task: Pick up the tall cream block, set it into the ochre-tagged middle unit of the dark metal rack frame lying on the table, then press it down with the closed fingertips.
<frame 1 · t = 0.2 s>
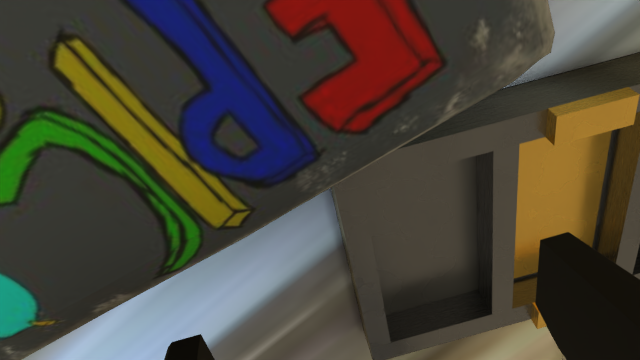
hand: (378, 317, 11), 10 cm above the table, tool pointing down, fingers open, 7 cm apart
toy van: (12, 8, 16), on the table
rack: (547, 193, 24), on the table
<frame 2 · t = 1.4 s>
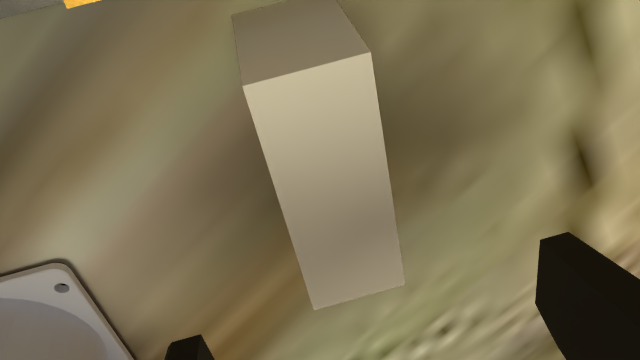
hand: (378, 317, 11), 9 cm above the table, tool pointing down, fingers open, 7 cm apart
tall cream block: (307, 114, 18), on the table
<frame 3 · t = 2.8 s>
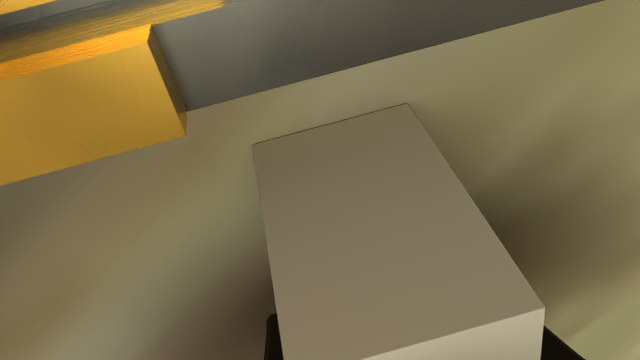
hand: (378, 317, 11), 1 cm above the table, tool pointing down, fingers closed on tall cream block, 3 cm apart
tall cream block: (361, 268, 12), on the table, touching gripper
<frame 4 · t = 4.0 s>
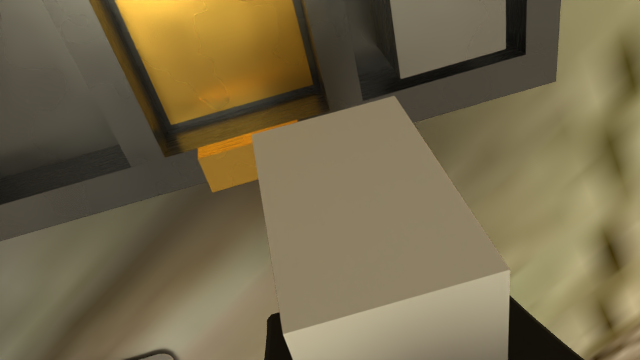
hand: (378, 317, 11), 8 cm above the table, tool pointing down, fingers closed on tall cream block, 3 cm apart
tall cream block: (354, 252, 13), point 6 cm above the table, touching gripper
when the fingers open (3 cm above the table, at t = 5.6 s): tall cream block stays where it is, resting on rack.
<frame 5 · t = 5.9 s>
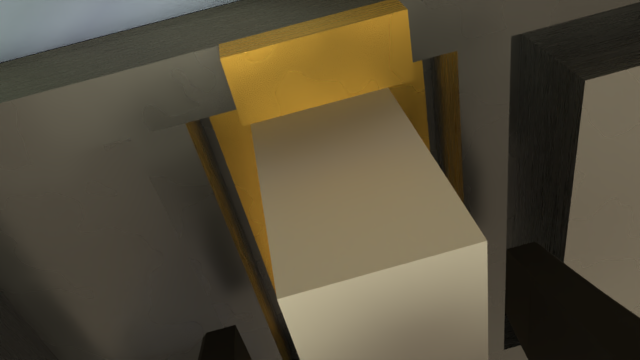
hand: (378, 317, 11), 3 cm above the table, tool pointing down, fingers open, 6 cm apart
tall cream block: (348, 236, 14), resting on rack
rack: (343, 215, 14), on the table
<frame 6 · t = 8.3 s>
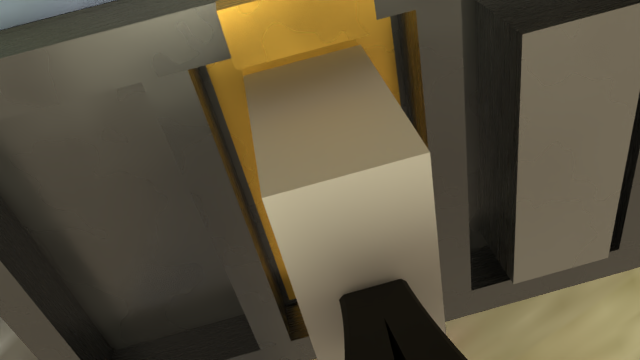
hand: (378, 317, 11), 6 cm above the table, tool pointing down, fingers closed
tall cream block: (331, 185, 16), resting on rack
rack: (326, 166, 16), on the table
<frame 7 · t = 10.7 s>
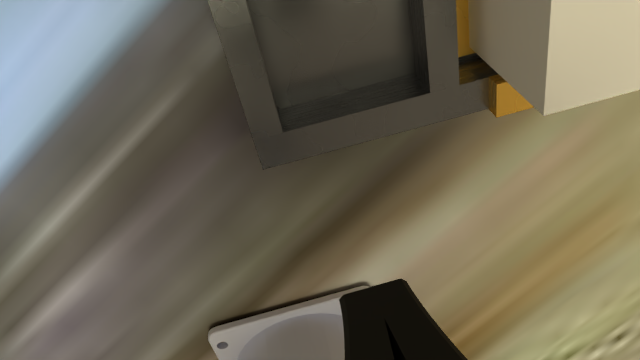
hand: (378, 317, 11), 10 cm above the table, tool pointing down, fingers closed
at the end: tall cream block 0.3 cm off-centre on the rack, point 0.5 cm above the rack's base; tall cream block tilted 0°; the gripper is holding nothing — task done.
